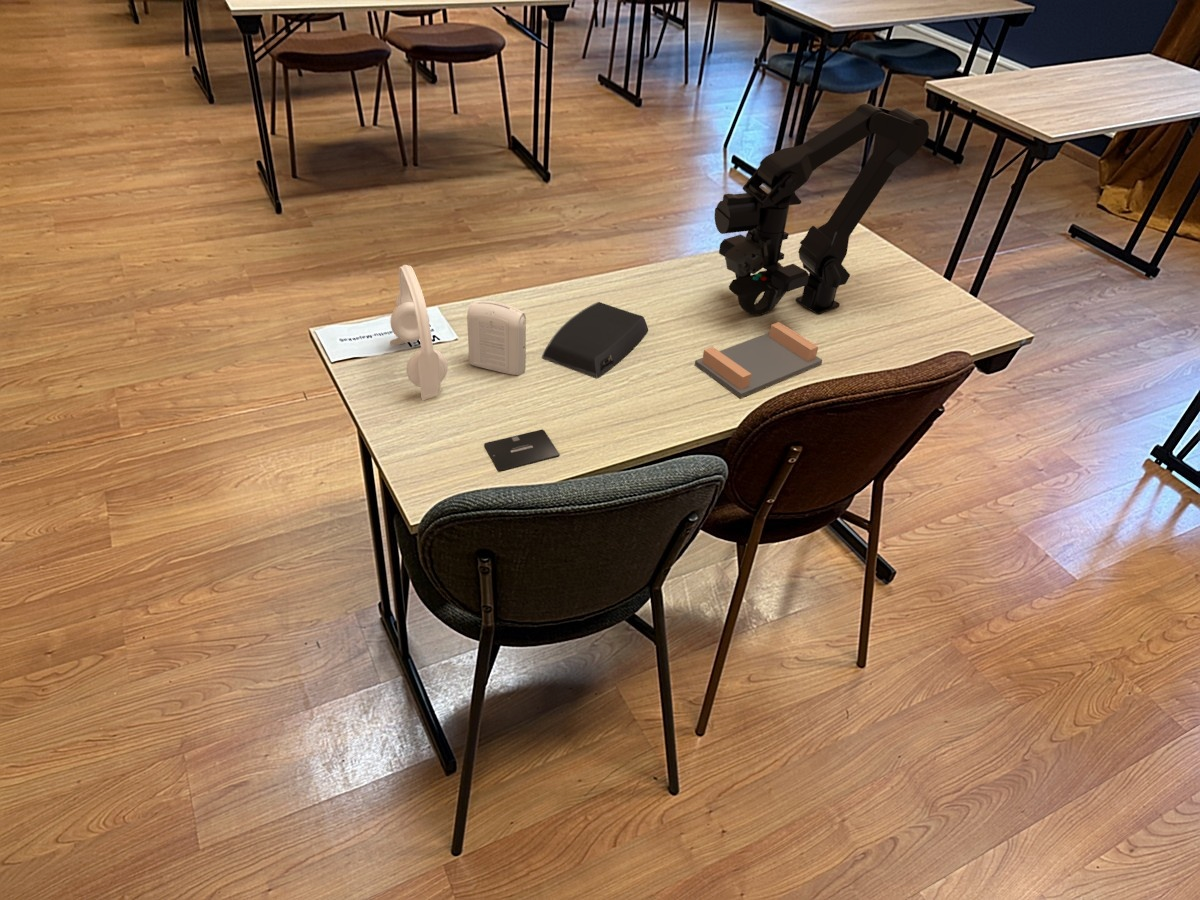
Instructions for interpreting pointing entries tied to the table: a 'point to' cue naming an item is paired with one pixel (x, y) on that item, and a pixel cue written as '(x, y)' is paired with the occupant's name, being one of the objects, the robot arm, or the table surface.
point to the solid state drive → (521, 450)
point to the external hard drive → (596, 339)
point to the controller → (752, 291)
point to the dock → (760, 361)
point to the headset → (417, 335)
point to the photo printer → (496, 337)
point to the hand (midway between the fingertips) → (755, 302)
